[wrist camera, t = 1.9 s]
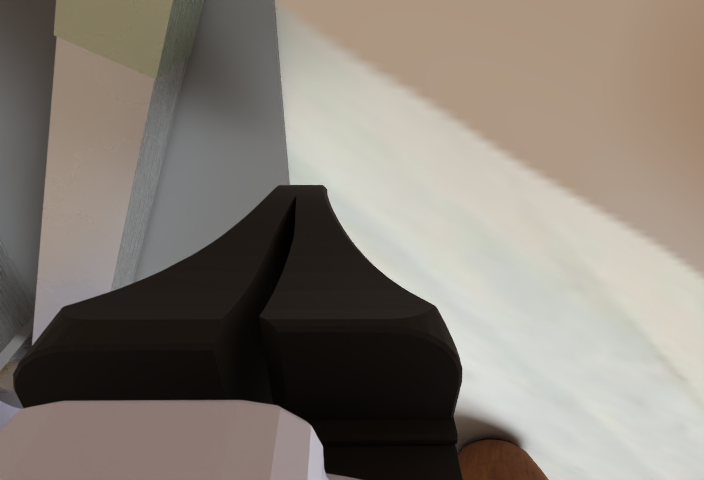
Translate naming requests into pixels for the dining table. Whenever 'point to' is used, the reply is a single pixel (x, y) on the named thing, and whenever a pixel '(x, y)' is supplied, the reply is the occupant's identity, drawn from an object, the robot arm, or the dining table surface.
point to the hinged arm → (104, 147)
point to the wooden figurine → (497, 462)
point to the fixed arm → (12, 299)
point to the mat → (183, 143)
